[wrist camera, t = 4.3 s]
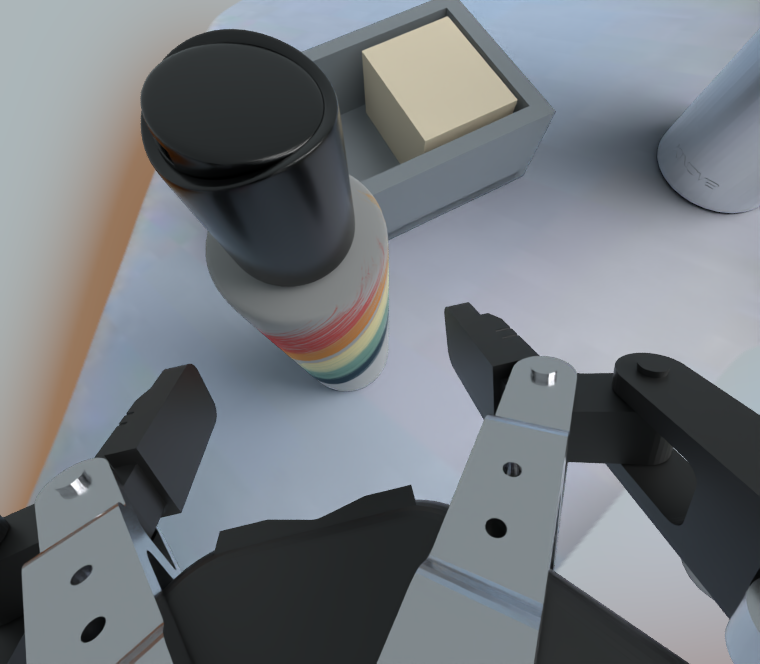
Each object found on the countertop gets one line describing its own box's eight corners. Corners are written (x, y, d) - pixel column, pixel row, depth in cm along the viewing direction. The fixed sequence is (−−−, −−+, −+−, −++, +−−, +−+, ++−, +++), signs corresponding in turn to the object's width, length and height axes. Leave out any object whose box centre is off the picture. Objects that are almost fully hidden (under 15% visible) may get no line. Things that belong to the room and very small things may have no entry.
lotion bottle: (294, 337, 26) (25, 40, 7) (364, 300, 27) (303, -63, 7) (330, 408, 24) (115, 287, 5) (403, 367, 25) (451, 129, 6)
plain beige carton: (438, 81, 31) (447, 16, 26) (496, 156, 29) (517, 99, 24) (366, 112, 30) (361, 50, 26) (418, 192, 28) (425, 141, 23)
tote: (441, 70, 33) (452, -8, 27) (522, 175, 29) (555, 111, 24) (235, 158, 31) (199, 92, 25) (297, 283, 27) (273, 240, 21)
